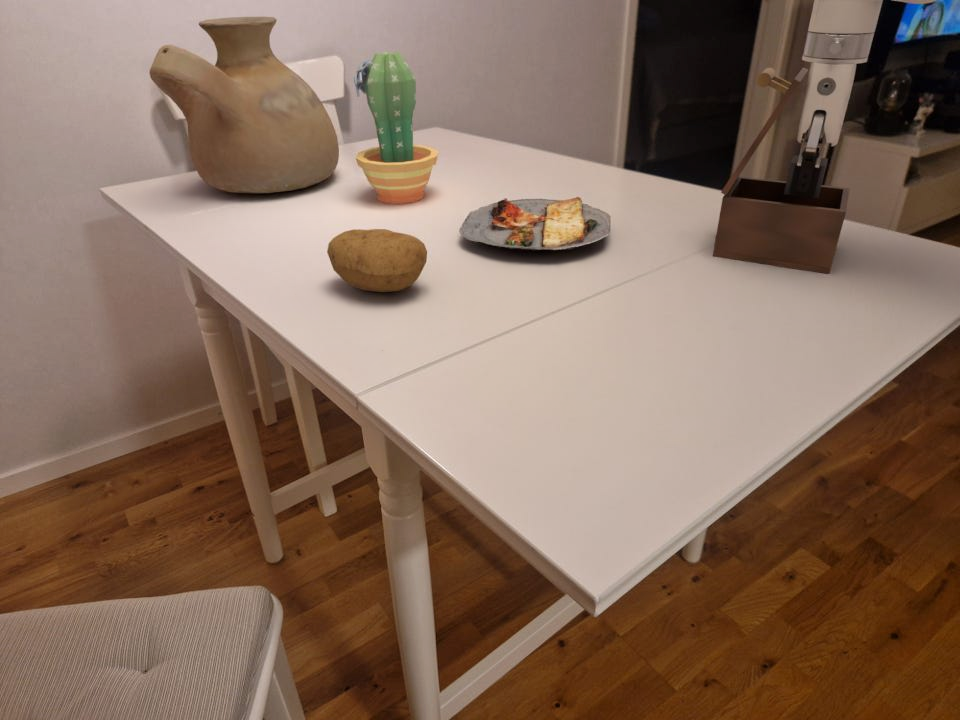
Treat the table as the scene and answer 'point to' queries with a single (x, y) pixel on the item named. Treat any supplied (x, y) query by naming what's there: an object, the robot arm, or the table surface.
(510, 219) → the food plate
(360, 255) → the potato
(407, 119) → the potted cactus
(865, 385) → the table surface
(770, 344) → the table surface
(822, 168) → the block
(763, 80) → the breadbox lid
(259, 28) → the jug
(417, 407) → the table surface
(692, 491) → the table surface
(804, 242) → the box
